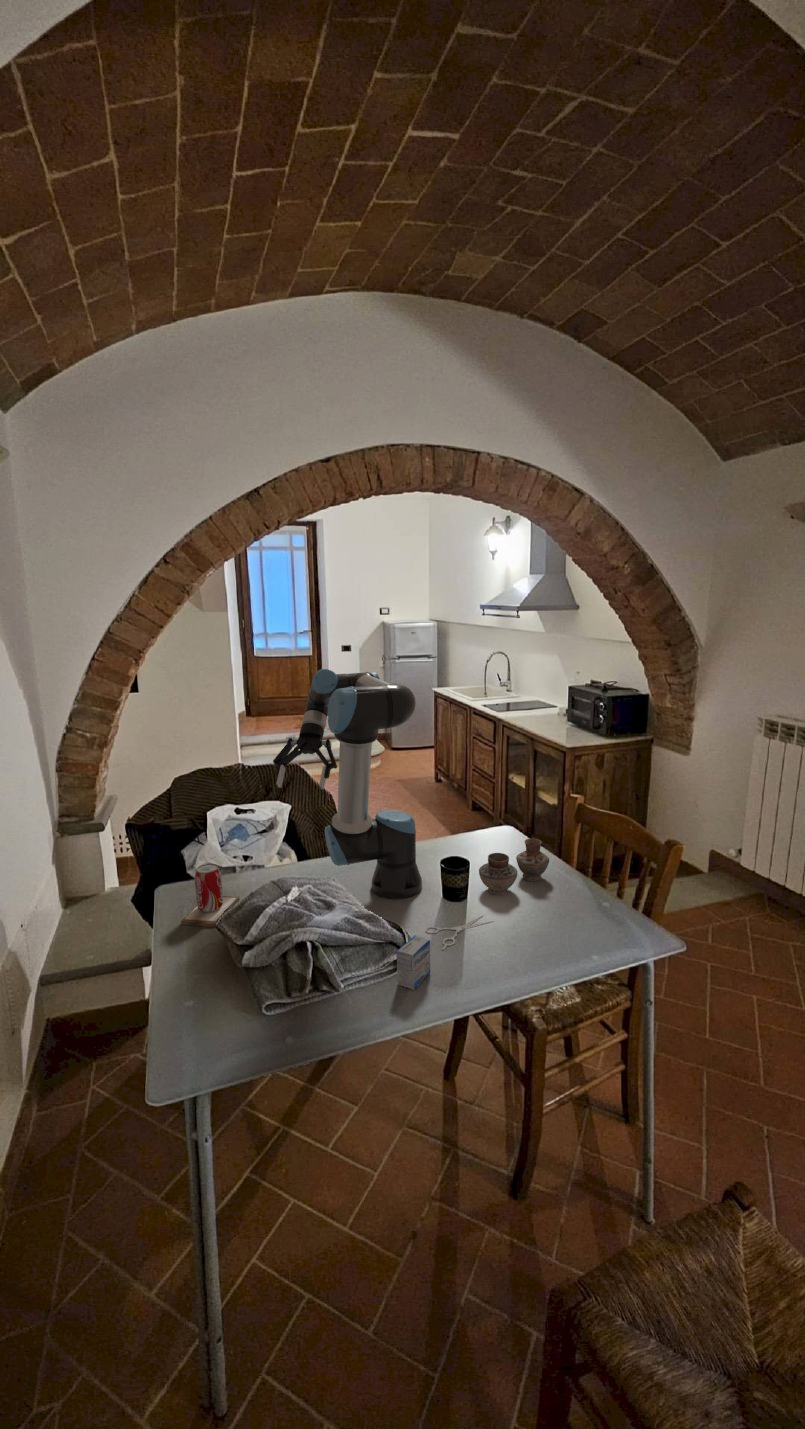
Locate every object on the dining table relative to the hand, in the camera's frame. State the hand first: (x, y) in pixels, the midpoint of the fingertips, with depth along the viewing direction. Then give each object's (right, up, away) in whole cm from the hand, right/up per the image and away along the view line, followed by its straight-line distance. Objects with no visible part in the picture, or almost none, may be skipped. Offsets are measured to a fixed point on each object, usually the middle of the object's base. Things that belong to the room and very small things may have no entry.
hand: (299, 786), depth 190 cm
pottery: (+65, -30, -1) cm, 72 cm away
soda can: (-23, -33, -15) cm, 42 cm away
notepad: (-22, -34, -15) cm, 43 cm away
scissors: (+47, -35, -25) cm, 64 cm away
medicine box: (+34, -39, -46) cm, 70 cm away
